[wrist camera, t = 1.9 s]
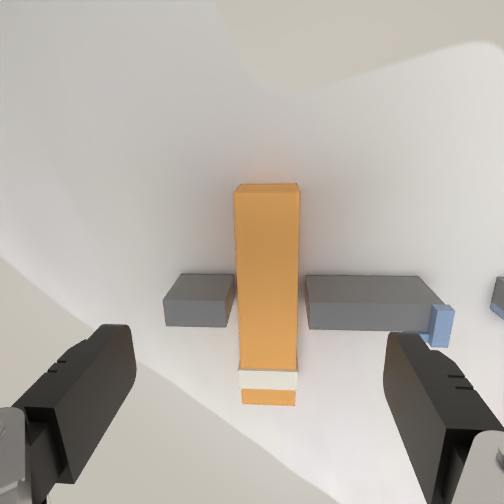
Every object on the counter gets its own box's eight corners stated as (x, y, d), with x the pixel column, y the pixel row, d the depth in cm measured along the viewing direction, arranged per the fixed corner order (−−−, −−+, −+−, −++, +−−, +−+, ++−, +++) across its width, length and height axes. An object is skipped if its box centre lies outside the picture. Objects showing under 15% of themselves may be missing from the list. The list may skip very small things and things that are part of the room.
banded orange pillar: (245, 369, 30) (239, 406, 26) (238, 184, 25) (230, 194, 21) (294, 371, 30) (297, 409, 26) (299, 183, 24) (302, 193, 20)
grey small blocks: (184, 303, 28) (163, 340, 23) (181, 274, 27) (158, 305, 22) (548, 309, 26) (613, 351, 21) (558, 277, 25) (627, 314, 20)
